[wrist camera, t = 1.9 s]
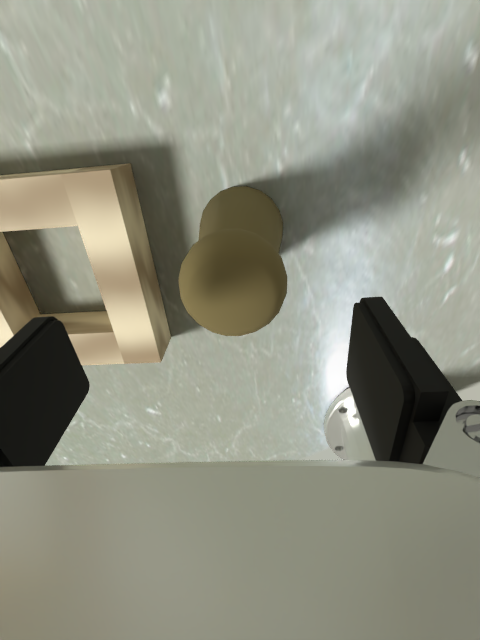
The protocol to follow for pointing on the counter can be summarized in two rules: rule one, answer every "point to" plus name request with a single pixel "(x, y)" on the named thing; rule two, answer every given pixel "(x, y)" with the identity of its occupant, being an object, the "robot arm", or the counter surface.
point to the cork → (235, 264)
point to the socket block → (105, 257)
